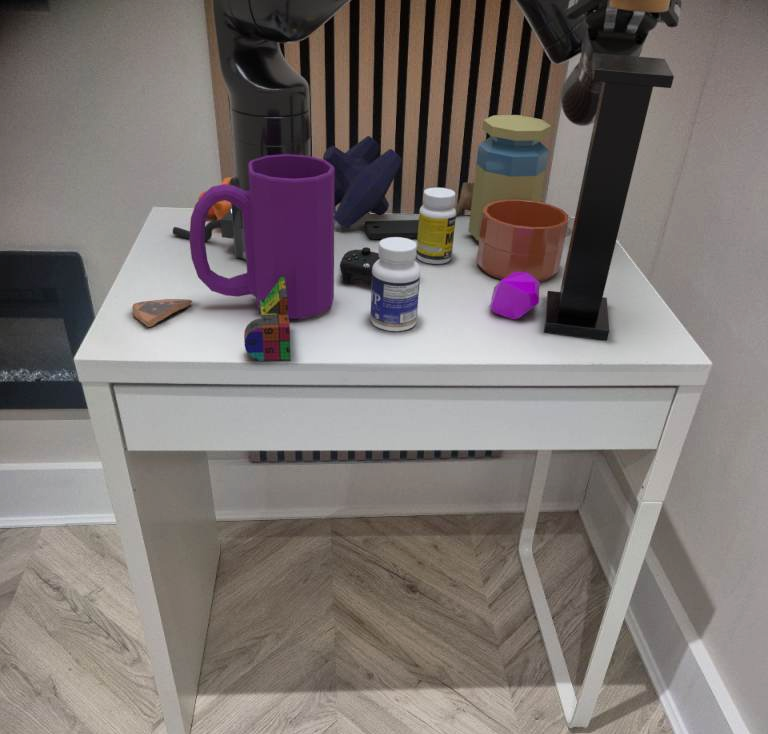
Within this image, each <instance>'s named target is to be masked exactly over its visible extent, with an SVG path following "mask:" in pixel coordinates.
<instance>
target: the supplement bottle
mask: <svg viewBox="0 0 768 734" xmlns="http://www.w3.org/2000/svg"><path fill="white" fill-rule="evenodd" d="M422 203H423V205H421V206H420V208H419V213H418V220H419V225H418V238H416V239H417V240H416V245H417V249H416V258H417V259H418V260H419V261H420V262H423V263H426V264H432V265H441V264H446V263H448V262H450V261H451V260H452V256H453V248H454V247H453V246H454V241H455V239H454V238H455V229H456V221H457V220H456V219H457V215H456V210H455V204H456V192H455V190H453V189H450V188H446V187H428V188H426V189H424V190H423V197H422Z"/></svg>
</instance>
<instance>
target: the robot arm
mask: <svg viewBox="0 0 768 734" xmlns="http://www.w3.org/2000/svg"><path fill="white" fill-rule="evenodd" d="M351 1H352V0H211V7H212V8H211V9H212V17H213V25H214V32H215V40H216V41H215V42H216V47H217V56H218V57H217V58H218V65H219V72H220V75H221V78H222V81H223V83H224V86H225V88H226V91H227V94H228V100H229V114H230V125H231V138H232V139H231V140H232V153H233V155H232V156H233V168H234V175H233V176H231V177H232V178H231V179H230V185H232V186H236V187H238V188H240V189H242V190H244V191H247V190H250V186H249V170H248V164H249V162H250V161H251V160H254V159H257V158H261V157H264V156H268V155H281V154H293V155H306V156H311V157H312V151H311V150H312V149H311V147H312V146H311V145H312V143H311V141H312V139H311V91H310V85H309V83H308V81H307V80H306V79H305V77H303V76H302V75H301V74H300V73H298V72H297V71H296V70H295V69H294V68H293V67H292V66H291V65H290V64H289V62H288V61H287V60H286V58H285V57H284V55H283V53H282V50H281V46H280V44H293V43H299V42H302V41H304V40H306V39H307V38H308V37H310V36H312V35H313V34H314V33H316V32H317V31H318V30H320V28H322V27H323V26H324V25H325V24H326V23H327V22H328V21H330V20H331V19H332V18H333V17H334V16H335V15H336V14H337V13H338V12H340V11H341V10H342V9H343V8H344V7H345V6H346V5H347V4H348V3H350V2H351ZM514 2H515V3H516V5H517V6H518V8H519V9H520V11H521V13H522V14H523V16H524V18H525V19H526V21H527V23H528V24H529V26H530V28H531V30H532V32H533V33H534V35H535V37H536V38H537V40H538V43H539V44H540V45H541V48H542V49H543V51H544V53H545V55H546V56H547V57H548V59H549V61H550V62H551V63H552V64H554V65H562V64H564V63H567V62H568V61H570V60H572V59H574V58H576V57H577V56H579V55H580V59H579V61H578V62H577V64H575V66H574V68H573V69H572V70H571V72H570V73H569V74H568V76H567V78H566V79H565V81H564V82H563V84H562V87H561V91H560V105H561V109H562V112H563V114H564V116H565V117H566V119H567V120H568V121H569V122H570V123H572V124H574V125H575V126H579V127H588V126H591V125H594V121H595V116H596V111H597V106H598V101H599V96H600V91H601V86H602V82H595V81H593V77H592V67H591V62H592V56H593V53H601V54H613V55H625V56H637V57H641V53H642V51H643V47H644V45H645V42H646V40H647V37H648V35H649V34H650V32H651V31H652V30H654V29H655V28H656V27H657V25H658V23H661V24H665V25H666V27H668V28H677V27H678V25H679V19H680V16H681V10H682V5H683V1H682V0H670V4H669V8H668V11H666V12H639V11H629V10H622V9H617V8H613V7H611V6H609V3H610V0H514ZM216 229H220V230H221V231H220V232H221V238H225V239H233V245H234V246H233V247H234V257H235V258H237V259H238V258H239V259H243V260H245V261H246V253H245V241H244V229H243V218H242V210H240V209H239V208H238V207H236V206H235V205H233V204H232V203H231V210H230V211H229V212H228V213H227V214H226V215H225V216H224V217H222V218H221V219H220V220H217V219H215V220H211V221H209V222H208V223H207V224H205V242H207V241H209V240H211V238H212V236H213V230H216ZM172 234H173V235H175V236H178V237H181V238H185V239H187V240H189V238H190V230H187V229H184V228H181V227H177V226H174V227H173V228H172Z"/></svg>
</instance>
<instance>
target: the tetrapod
mask: <svg viewBox="0 0 768 734" xmlns="http://www.w3.org/2000/svg"><path fill="white" fill-rule="evenodd" d="M380 148H381V147H380V145H379V143H377V141H376V140H374V138H373V137H372V136H370V135H367V136H366V137H364V138H363V139H362V140H360V141H359V142H358V143H356V144H354V146H352V147H351V148H349V149H348V150H347V151H346V152H345V151H342V150H341V149H340V148H338V147H336V146H335V145H331V146H330V147H328V148H327V149H326V150H325V152H324V153H323V157H322V160H326V161H327V162H328V163H330V164H331V165H332V166H333V167H334V169H335V184H334V208H335V207H337V206H338V207H337V209H336V211H335V212H334V221H335V222H336V223H337V224H338V225H340V227H342V228H343V229H344V230H347V229H349V228H350V227H352V226H353V225H354V224H356V223H357V222H358V221H359V220H361V219H362V218H363V217H365V216H366V215H368V214H369V213H370V212H372V213H374V214H375V215H377V216H378V217H380V216H383V215H385V214H386V213H387V211H389V207H390V203H389V201H388V200H387V198H386V195H387V193H388V191H389V190H390V187H391V185H392V183H393V181H394V179H395V177H396V175H397V174H398V171H399V169H400V168H401V166H402V163H403V159H402V157H400V155H399V154H398V153H397V152H396V151H395V150H393V149H392V148H389V149H387V151H384V153H383V154H380V155H379V156H378V157H377V155H378V153H379V151H380ZM376 157H377V158H376Z"/></svg>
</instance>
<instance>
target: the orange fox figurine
mask: <svg viewBox="0 0 768 734" xmlns="http://www.w3.org/2000/svg"><path fill="white" fill-rule="evenodd" d="M232 177H233V176H231V177H224V178H223V180H222V181H221V182H220V184H219V185H222V184H226V185H230V179H231V178H232ZM206 191H207V190H206ZM206 191H203V192H201V193H200V195H199V196H198V200H197V202H198V201H199V199H200V198H201V197H202V196H203V194H204V193H205V192H206ZM230 210H231V203H230V202H228V201H226V200H224V201H219V202H217V203H216V204H214V205H213V206H212V207H211V208H210V210H209V211H208V214H207V217H208V216H209V217H214V216H215V217H216V220H220V219H221V218H222V217H224V216H225V215H226V214H227V213H228V212H229V211H230Z"/></svg>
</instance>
